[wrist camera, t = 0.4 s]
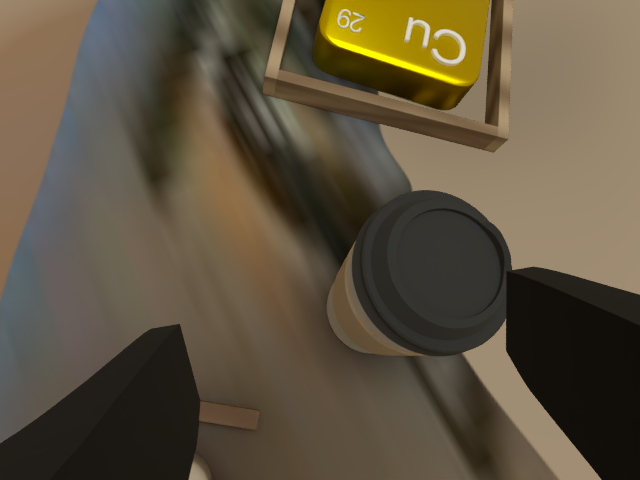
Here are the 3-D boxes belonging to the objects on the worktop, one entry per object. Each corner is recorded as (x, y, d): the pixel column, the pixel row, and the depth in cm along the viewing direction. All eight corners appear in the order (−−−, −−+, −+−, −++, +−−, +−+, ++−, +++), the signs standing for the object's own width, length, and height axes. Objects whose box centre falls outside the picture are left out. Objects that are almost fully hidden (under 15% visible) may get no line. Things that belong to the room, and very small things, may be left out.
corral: (493, 152, 44) (508, 139, 42) (262, 93, 42) (264, 76, 39) (501, -23, 52) (514, -43, 49) (305, -83, 49) (309, -106, 47)
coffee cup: (332, 384, 35) (403, 378, 21) (297, 270, 38) (339, 196, 23) (438, 347, 38) (563, 320, 24) (399, 242, 40) (493, 161, 26)
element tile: (473, 1, 51) (498, -37, 46) (456, 118, 45) (481, 88, 41) (340, -46, 49) (351, -90, 45) (306, 69, 44) (315, 33, 39)
